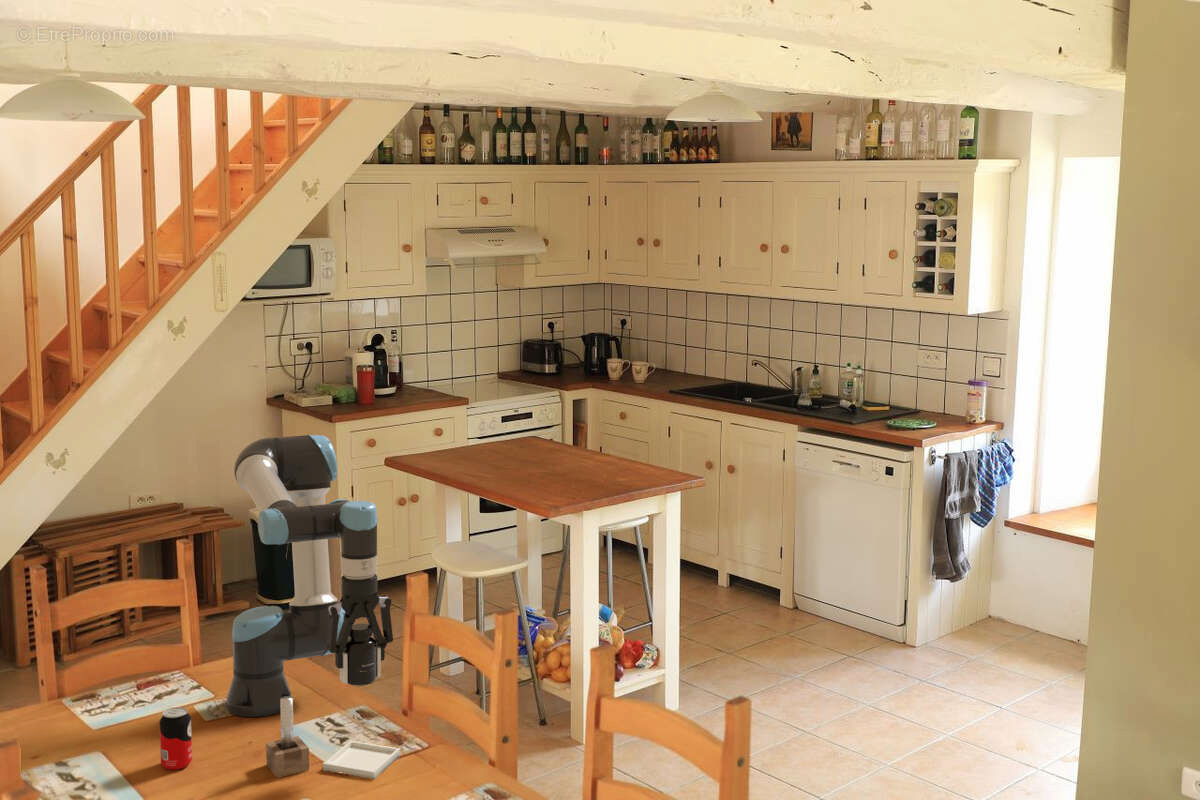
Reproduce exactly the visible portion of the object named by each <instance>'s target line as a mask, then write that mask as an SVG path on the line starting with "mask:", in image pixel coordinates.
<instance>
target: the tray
mask: <svg viewBox="0 0 1200 800" xmlns="http://www.w3.org/2000/svg"><path fill="white" fill-rule="evenodd" d="M400 756H401V748H398V747H394V746H385V745H382V744H381V745H379V744H374V743H368V742H364V741H363V742H362V741H355V740H350V741H348V742H347V743H346V744H345V745H343V746H342V747H341V748H340V749H338V750H337V752H335V753H334V754H332V755H331V756H330V757H328V759H326V761H324V762H323V763H322V771H324V772H328V771H331V772H330V773H334V772H342V773H346V774H351V775H350V776H352V775H354V776H353V777H358V776H359V778H363V777H365V779H369V778H371V780H376V778H378V777H379V776H380V775H381V774H382V773H383V772H384V771H385V770H386V769H388V768H389V767H390V766H391V765H392V764H393V763H394V762H395V761H396V760H397V759H398V758H400ZM346 774H345V775H346ZM379 774H380V775H379ZM378 775H379V776H378Z"/></svg>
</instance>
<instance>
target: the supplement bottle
mask: <svg viewBox="0 0 1200 800" xmlns="http://www.w3.org/2000/svg"><path fill="white" fill-rule="evenodd" d="M372 636H373V633H372V627H371V625H369V623H368V624H367V623H354V624H353V626H352V629H351V632H350V635H349V638H348V641H347V644H346V647H345V650H344V652H345V653H347V671H348V683H347V684H346V685H349V686H350V685H351V686H354V687H355V686H356V687H357V686H361V687H362V686H368V685H371V684H373V683H374V682H375V681H376V680H377V677H376V648H377V643H376V641H375V638H374V636H373V637H372Z"/></svg>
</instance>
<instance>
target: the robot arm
mask: <svg viewBox="0 0 1200 800" xmlns="http://www.w3.org/2000/svg"><path fill="white" fill-rule="evenodd" d="M336 456H337V455H336V452H335V449H334V446H333V444H332V442H331V440H330V439H329V438H328V437H327V436H326V435H323V434H322V435H321V434H320V435H319V434H307V435H290V436H279V437H263V438H259V439H258V440H255V441H253V442H251V443H250V444H248V445H247V446H246V447H244V449H242V451H241V452H240V453H239V454H238V455H237V458H236V459H235V462H234V467H233V469H234V470H233V475H234V477H235V480H236V482H237V484H238V485H239V487H240V488H241V489H242V490H243V491H245V492H247V493H248V494H249V496H250V498H251V499H252V501H253V502H254V504H255V507H256V508H257V510H258V512H259V514H258V517H257V529H258V530H257V531H258V536H259V538H260V539H259V540H260V542H261V543H262V544H264V545H280V546H281V545H284V544H291V546H292V547H291V550H292V562H293V563H292V564H293V565H292V567H293V581H294V583H293V584H294V596H293V598H292V600H290V601H289V603H288V607H289V610H288V611H283V609H282V608H281V607H280V606H277V605H270V606H269V605H262V606H257V607H253V608H250V609H247V610H245V611H243V612H241V613H240V614H238V615H237V616H236V617H235V618H234V620H233V622H232V632H231V633H232V634H231V640H232V657H233V658H232V661H233V662H232V664H233V665H232V666H233V669H232V670H233V677H232V681H231V684H230V686H229V689H228V692H227V695H226V709H227V710H226V711H228V712H229V713H230V714H232V715H235V716H238V717H244V718H256V717H257V718H258V717H259V718H260V717H267V716H271V715H272V716H273V715H275V714H276V715H277V714H279V713H281V708H280V698H282V697H285V696H291V697H292V691H291V689H290V686H289V683H288V679H287V678H286V675H285V671H284V662H285V661H293V660H299V659H306V658H313V657H318V656H319V657H324V656H327V655H332V654H334V656H335V657H334V658H335V659H334V661H335V662H334V663H335V667H336V668H337V669H339V681H340V682H341V683H342V684H343V685H348V684H347V683H348V671H347V653H345V652H344V650H345V647H346V644H347V641H348V638H350V637H349V635H350V632H351V629H352V626H353V625H354V624H356V620H358V619H360V618H366V620H367V622H368V625H371V627H372V636H373V638H374V639H375V641H376V645H377V648H376V678H381V677H382V663H381V662H382V661H384V660H385V655H386V654H385V652H386V651H385V648H387V644H389V643H390V644H391V643H393V641H394V636H393V635H394V634H393V625H392V619H391V605H392V599H391V598H389V596H387V595H384V596H379V594H378V575H377V572H378V519H379V518H378V512H377V511H378V510H377V506H376V504H375V503H373V502H371V501H366V500H351V501H349V500H348V499H344V498H338V499H334V500H333V501H330V502H329V503H326V495H327V494H328V492H329V491H330V490H331V487H332V485H331V482H334V481H336V479H337V477H338V471H339V470H338V469H339V468H338V461H337V457H336ZM331 539H340V548H341V549H340V551H341V552H340V555H341V556H340V557H341V559H340V562H341V563H340V568H341V569H340V573H341V575H342V576H341V577H340V578H341V583H340V585H341V587H340V588H341V598H340V600H339V601H338V597H336V596H335V595H334V594H333V593H332V591H331V590H332V589H331V588H332V587H331V573H330V558H329V555H330V554H329V543H328V542H329V540H331ZM378 605H379V608H380V618H381V625H382V630H381V628H380V625H379V622H378V621H377V616H376V613H375V612H374V611H375V608H376V607H377V606H378Z"/></svg>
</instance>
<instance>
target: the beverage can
mask: <svg viewBox="0 0 1200 800" xmlns="http://www.w3.org/2000/svg"><path fill="white" fill-rule="evenodd" d="M159 742H160V743H159V747H160V749H159V750H160V764H161V766H162V767H163V768H165V769H167V770H169V771H177V770H182V769H185V768H186V767H188V766H189V764H190V763H191V762H192V760H193V748H192V747H193V745H192V719H191V715H190V714H189V713H188V709H187V708H186V707H182V706H181V707H180V706H178V707H177V706H176V707H170V708H167V709H165V710H163V711H162V715H161V717H160V719H159Z"/></svg>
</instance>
